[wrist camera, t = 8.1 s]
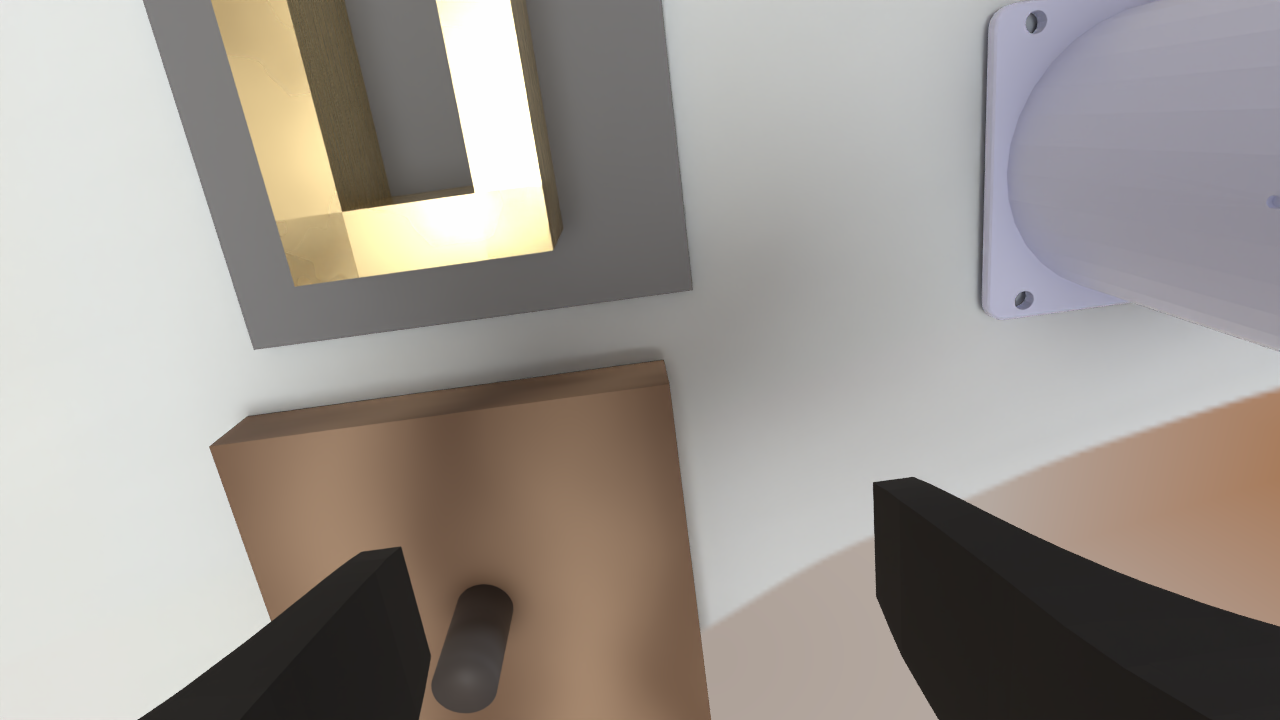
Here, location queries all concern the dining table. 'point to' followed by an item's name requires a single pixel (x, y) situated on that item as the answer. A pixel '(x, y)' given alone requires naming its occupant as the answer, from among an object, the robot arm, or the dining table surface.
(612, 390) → the peg stand
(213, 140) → the mat
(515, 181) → the u link
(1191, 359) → the dining table surface
